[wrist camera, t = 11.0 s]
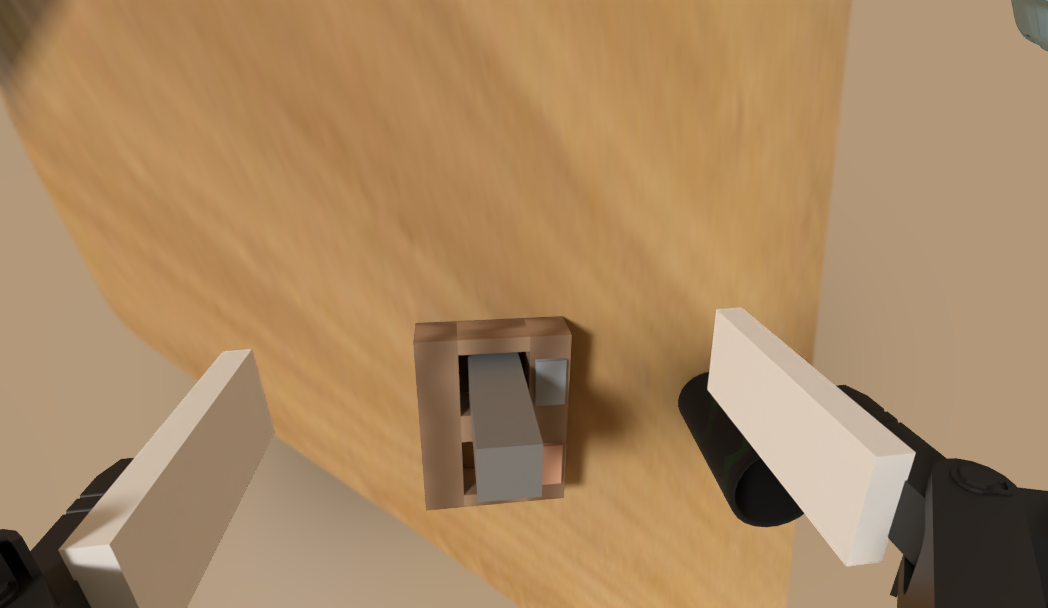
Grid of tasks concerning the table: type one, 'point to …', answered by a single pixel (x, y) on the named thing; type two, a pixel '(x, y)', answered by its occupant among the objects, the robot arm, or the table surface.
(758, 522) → the cup
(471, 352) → the socket block
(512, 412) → the plug
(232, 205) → the table surface
